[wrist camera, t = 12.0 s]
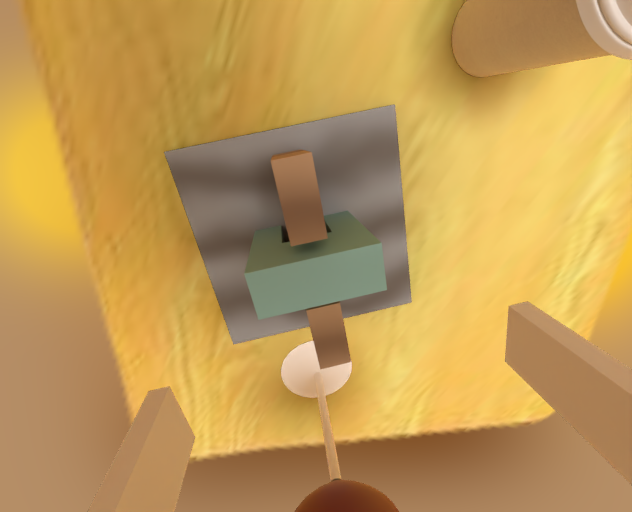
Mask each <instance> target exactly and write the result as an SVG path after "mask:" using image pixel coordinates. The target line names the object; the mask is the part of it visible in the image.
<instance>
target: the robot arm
mask: <svg viewBox="0 0 632 512" xmlns="http://www.w3.org/2000/svg"><path fill="white" fill-rule="evenodd" d="M505 362H506V363H507V364H508V365H509V366H510V367H511V368H512V369H513V370H514V371H515V372H516V373H517V374H519V375H520V376H521V377H522V378H523V379H524V380H525V381H526V382H527V383H528V384H529V385H530V386H531V387H532V388H533V389H534V390H535V391H536V392H537V393H538V394H539V395H540V396H541V397H542V398H543V399H544V400H545V401H546V402H547V403H548V404H549V405H550V406H551V407H552V408H553V409H554V410H555V411H556V412H557V413H558V414H559V415H560V416H561V417H562V418H564V420H565V421H566V422H568V423H569V424H570V425H571V426H572V427H573V428H574V429H575V430H576V431H577V432H578V433H579V434H580V435H581V436H582V437H583V438H584V439H585V440H586V441H587V442H588V443H589V444H590V445H591V446H592V447H593V448H594V449H595V450H596V451H597V452H598V453H599V454H600V455H601V456H602V457H603V458H604V459H605V460H606V461H608V463H609V464H610V465H611V466H613V467H614V468H615V469H616V470H617V471H618V472H619V473H620V474H621V475H622V476H623V477H624V478H625V479H626V480H627V481H628V482H629V483H630V484H631V485H632V369H630V368H629V367H627V366H626V365H624V364H623V363H621V362H620V361H618V360H617V359H615V358H613V357H612V356H610V355H609V354H608V353H606V352H604V351H603V350H601V349H600V348H598V347H597V346H595V345H593V344H592V343H591V342H589V341H588V340H586V339H584V338H583V337H581V336H580V335H578V334H577V333H575V332H574V331H572V330H571V329H569V328H568V327H566V326H565V325H563V324H561V323H560V322H558V321H557V320H555V319H554V318H552V317H551V316H549V315H548V314H546V313H545V312H543V311H542V310H540V309H538V308H537V307H535V306H534V305H532V304H531V303H529V302H528V301H527V302H523V303H519V304H515V305H510V306H509V310H508V324H507V339H506V353H505ZM194 439H195V436H194V434H193V432H192V430H191V428H190V426H189V424H188V422H187V420H186V418H185V416H184V414H183V412H182V410H181V408H180V406H179V404H178V402H177V400H176V398H175V396H174V394H173V392H172V390H171V388H170V386H168V387H164V388H160V389H156V390H152V391H149V392H148V394H147V396H146V397H145V399H144V401H143V403H142V405H141V407H140V409H139V411H138V413H137V415H136V417H135V419H134V421H133V423H132V425H131V427H130V429H129V431H128V433H127V435H126V437H125V439H124V441H123V442H122V444H121V446H120V449H119V450H118V452H117V454H116V456H115V458H114V460H113V462H112V464H111V466H110V468H109V470H108V472H107V474H106V476H105V478H104V480H103V482H102V484H101V486H100V488H99V489H98V492H97V494H96V495H95V497H94V499H93V501H92V503H91V505H90V507H89V509H88V511H87V512H174V511H175V508H176V504H177V501H178V497H179V493H180V489H181V486H182V483H183V479H184V475H185V472H186V468H187V464H188V461H189V457H190V454H191V450H192V446H193V443H194Z"/></svg>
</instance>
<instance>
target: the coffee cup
mask: <svg viewBox="0 0 632 512" xmlns="http://www.w3.org/2000/svg"><path fill="white" fill-rule="evenodd" d="M452 49H453V54H454V57H455V59H456V61H457V63H458V65H459V66H460V67H461V68H462V69H463V70H464V71H465V72H466V73H468V74H470V75H472V76H475V77H487V76H493V75H499V74H504V73H510V72H516V71H521V70H527V69H533V68H538V67H544V66H550V65H555V64H561V63H567V62H573V61H578V60H584V59H590V58H596V57H602V56H608V55H614V56H617V57H620V58H624V59H630V60H632V0H466V2H465V3H464V4H463V5H462V7H461V9H460V10H459V12H458V14H457V16H456V19H455V22H454V25H453V30H452Z"/></svg>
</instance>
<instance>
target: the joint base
mask: <svg viewBox="0 0 632 512" xmlns="http://www.w3.org/2000/svg"><path fill="white" fill-rule="evenodd" d="M164 153H165V156H166V159H167V162H168V165H169V167H170V170H171V173H172V176H173V178H174V181H175V184H176V187H177V189H178V192H179V195H180V198H181V200H182V203H183V206H184V209H185V211H186V214H187V217H188V220H189V222H190V225H191V228H192V231H193V233H194V236H195V239H196V242H197V245H198V247H199V250H200V253H201V256H202V258H203V261H204V264H205V267H206V269H207V272H208V275H209V278H210V280H211V283H212V286H213V289H214V291H215V294H216V297H217V300H218V302H219V305H220V308H221V311H222V313H223V316H224V319H225V322H226V325H227V327H228V330H229V333H230V336H231V338H232V341H233V344H237V343H242V342H246V341H250V340H254V339H258V338H263V337H267V336H271V335H275V334H280V333H284V332H288V331H292V330H297V329H301V328H305V327H309V326H310V328H311V333H312V337H313V341H314V345H315V349H316V354H317V358H318V362H319V366H320V369H324V368H329V367H333V366H337V365H341V364H345V363H349V362H351V359H350V354H349V348H348V343H347V338H346V332H345V327H344V322H343V318H347V317H352V316H356V315H360V314H364V313H369V312H373V311H377V310H381V309H386V308H390V307H394V306H398V305H403V304H407V303H411V302H412V301H411V289H410V277H409V265H408V253H407V242H406V230H405V218H404V206H403V194H402V182H401V170H400V158H399V146H398V134H397V122H396V111H395V105H390V106H385V107H380V108H375V109H371V110H366V111H361V112H356V113H351V114H346V115H341V116H336V117H332V118H327V119H322V120H317V121H312V122H307V123H302V124H298V125H293V126H288V127H283V128H278V129H273V130H268V131H264V132H259V133H254V134H249V135H244V136H239V137H234V138H230V139H225V140H220V141H215V142H210V143H205V144H200V145H196V146H191V147H186V148H181V149H176V150H171V151H166V152H164ZM343 211H349V212H350V213H351V214H352V215H353V216H354V217H355V218H356V219H357V220H358V221H359V222H360V223H361V224H362V225H363V226H364V227H365V228H367V229H368V230H369V231H370V232H371V233H372V234H373V235H374V236H375V237H376V238H377V239H378V240H379V241H380V242H381V243H382V251H383V259H384V268H385V276H386V285H387V290H385V291H381V292H376V293H372V294H368V295H363V296H359V297H355V298H351V299H346V300H342V301H338V302H333V303H329V304H325V305H321V306H316V307H312V308H308V309H303V310H299V311H295V312H291V313H286V314H282V315H278V316H273V317H269V318H265V319H261V320H258V317H257V313H256V310H255V307H254V304H253V301H252V297H251V294H250V291H249V288H248V285H247V281H246V278H245V275H244V273H245V269H246V265H247V261H248V257H249V253H250V249H251V245H252V241H253V237H254V233H255V231H257V230H262V229H266V228H271V227H275V226H280V225H281V227H282V231H283V235H284V239H285V242H290V245H291V246H296V245H300V244H305V243H309V242H314V241H318V240H323V239H327V238H328V236H327V231H326V225H325V220H324V216H325V215H330V214H334V213H339V212H343Z"/></svg>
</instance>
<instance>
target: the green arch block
mask: <svg viewBox="0 0 632 512" xmlns="http://www.w3.org/2000/svg"><path fill="white" fill-rule="evenodd" d="M324 220H325V225H326V231H327V236H328V238H327V239H323V240H318V241H314V242H309V243H305V244H300V245H296V246H291V245H290V242H285V239H284V235H283V231H282V227H281V225H280V226H275V227H271V228H266V229H262V230H257V231H255V233H254V237H253V241H252V245H251V249H250V253H249V257H248V261H247V265H246V269H245V273H244V275H245V278H246V281H247V285H248V288H249V291H250V294H251V297H252V301H253V304H254V307H255V310H256V313H257V317H258V320H261V319H265V318H269V317H273V316H278V315H282V314H286V313H291V312H295V311H299V310H303V309H308V308H312V307H316V306H321V305H325V304H329V303H333V302H338V301H342V300H346V299H351V298H355V297H359V296H363V295H368V294H372V293H376V292H381V291H385V290H387V285H386V276H385V268H384V259H383V251H382V243H381V242H380V241H379V240H378V239H377V238H376V237H375V236H374V235H373V234H372V233H371V232H370V231H369V230H368V229H367V228H365V227H364V226H363V225H362V224H361V223H360V222H359V221H358V220H357V219H356V218H355V217H354V216H353V215H352V214H351V213H350V212H349V211H343V212H339V213H334V214H330V215H325V216H324Z"/></svg>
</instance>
